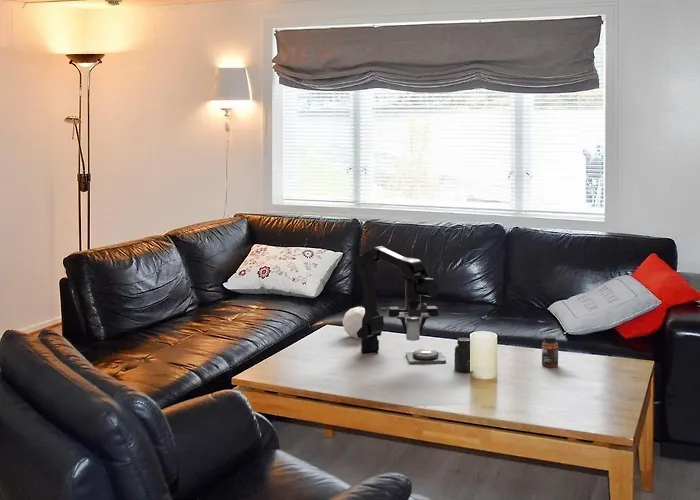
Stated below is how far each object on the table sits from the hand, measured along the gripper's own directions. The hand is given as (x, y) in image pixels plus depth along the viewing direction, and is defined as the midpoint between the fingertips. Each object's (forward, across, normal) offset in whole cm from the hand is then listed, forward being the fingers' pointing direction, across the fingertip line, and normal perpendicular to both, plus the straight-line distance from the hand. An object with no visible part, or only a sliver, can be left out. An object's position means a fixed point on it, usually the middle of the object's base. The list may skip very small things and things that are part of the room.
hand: (412, 333), depth 310 cm
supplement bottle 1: (+12, +18, -10) cm, 24 cm away
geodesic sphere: (+12, -20, +40) cm, 46 cm away
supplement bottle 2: (+12, +51, -6) cm, 52 cm away
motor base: (+12, +6, +6) cm, 15 cm away
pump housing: (+2, 0, 0) cm, 2 cm away
